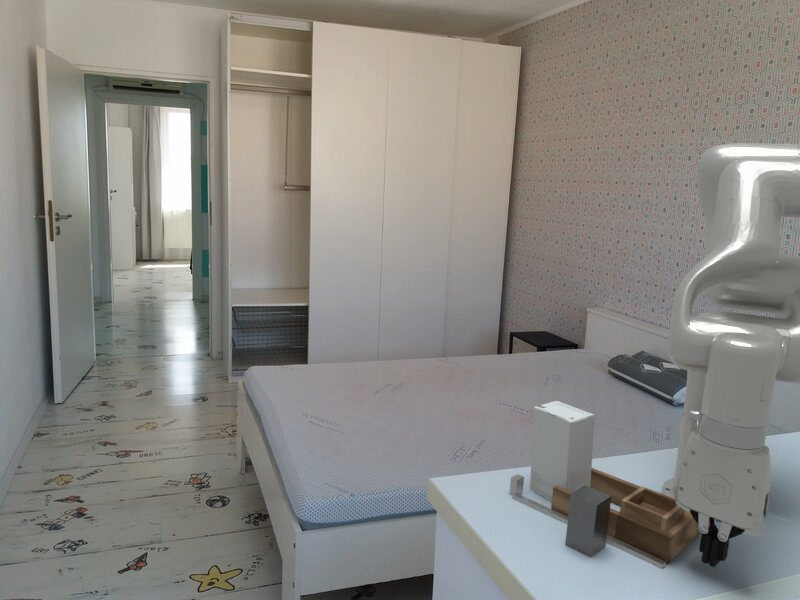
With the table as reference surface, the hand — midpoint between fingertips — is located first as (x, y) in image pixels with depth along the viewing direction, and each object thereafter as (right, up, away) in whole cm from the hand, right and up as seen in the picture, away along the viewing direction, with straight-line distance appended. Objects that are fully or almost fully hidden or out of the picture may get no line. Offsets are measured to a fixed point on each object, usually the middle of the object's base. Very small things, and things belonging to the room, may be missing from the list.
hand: (711, 560), depth 84 cm
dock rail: (-10, +1, +15) cm, 18 cm away
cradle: (-8, +1, +12) cm, 15 cm away
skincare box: (-16, +2, +20) cm, 25 cm away
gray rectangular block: (-15, 0, +6) cm, 16 cm away
